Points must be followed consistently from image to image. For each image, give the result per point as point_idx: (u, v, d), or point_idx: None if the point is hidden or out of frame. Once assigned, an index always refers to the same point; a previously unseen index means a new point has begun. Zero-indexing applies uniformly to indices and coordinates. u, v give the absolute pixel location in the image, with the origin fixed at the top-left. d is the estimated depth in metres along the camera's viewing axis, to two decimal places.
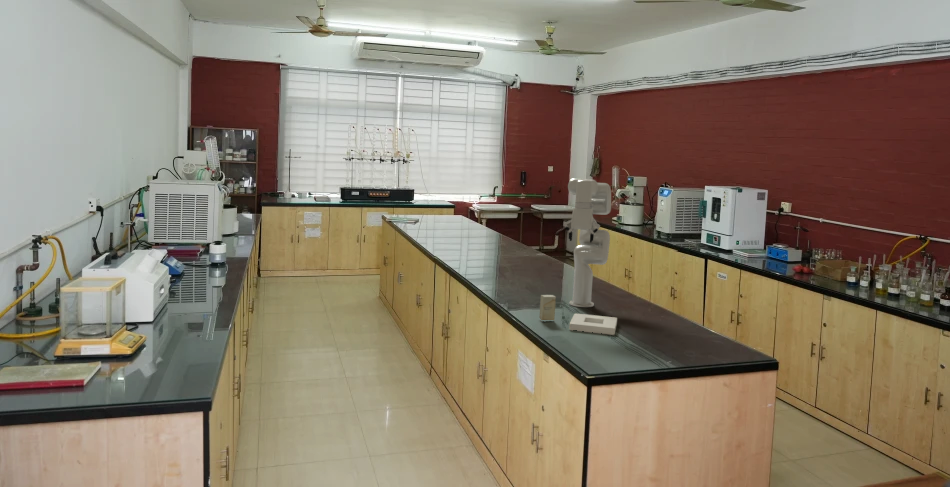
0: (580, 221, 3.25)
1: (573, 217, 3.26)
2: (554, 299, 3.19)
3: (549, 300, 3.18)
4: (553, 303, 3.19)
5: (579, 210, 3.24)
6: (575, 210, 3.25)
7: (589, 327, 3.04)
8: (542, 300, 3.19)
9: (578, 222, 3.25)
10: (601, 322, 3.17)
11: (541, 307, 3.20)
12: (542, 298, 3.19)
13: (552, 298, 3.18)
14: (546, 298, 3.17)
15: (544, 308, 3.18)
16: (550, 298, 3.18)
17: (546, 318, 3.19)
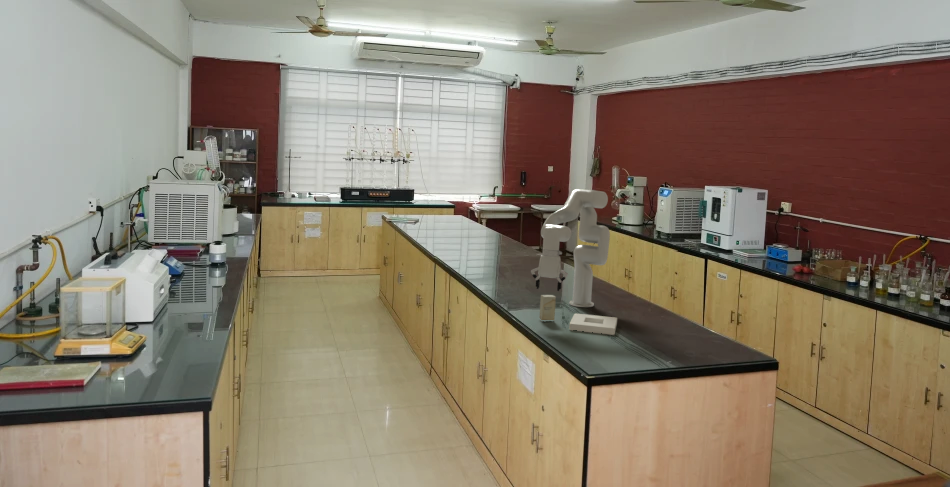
0: (547, 269, 3.15)
1: (540, 265, 3.16)
2: (554, 299, 3.19)
3: (549, 300, 3.18)
4: (553, 303, 3.19)
5: (546, 258, 3.15)
6: (542, 257, 3.15)
7: (589, 327, 3.04)
8: (542, 300, 3.19)
9: (545, 269, 3.16)
10: (601, 322, 3.17)
11: (541, 307, 3.20)
12: (542, 298, 3.19)
13: (552, 298, 3.18)
14: (546, 298, 3.17)
15: (544, 308, 3.18)
16: (550, 298, 3.18)
17: (546, 318, 3.19)
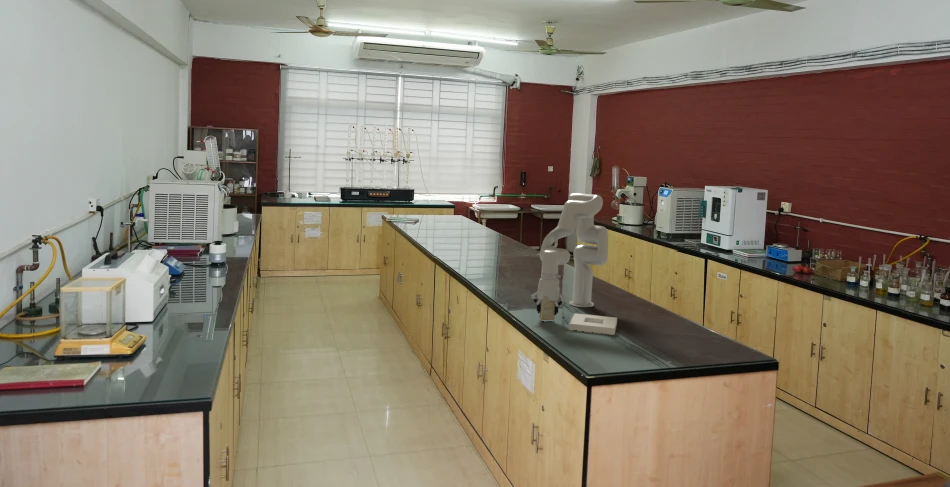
0: (546, 293, 3.17)
1: (539, 288, 3.18)
2: None
3: None
4: (553, 303, 3.19)
5: (545, 281, 3.17)
6: (541, 281, 3.17)
7: (589, 327, 3.04)
8: (542, 300, 3.19)
9: (544, 293, 3.17)
10: (601, 322, 3.17)
11: (541, 307, 3.20)
12: None
13: None
14: (546, 298, 3.17)
15: (544, 308, 3.18)
16: None
17: (546, 318, 3.19)
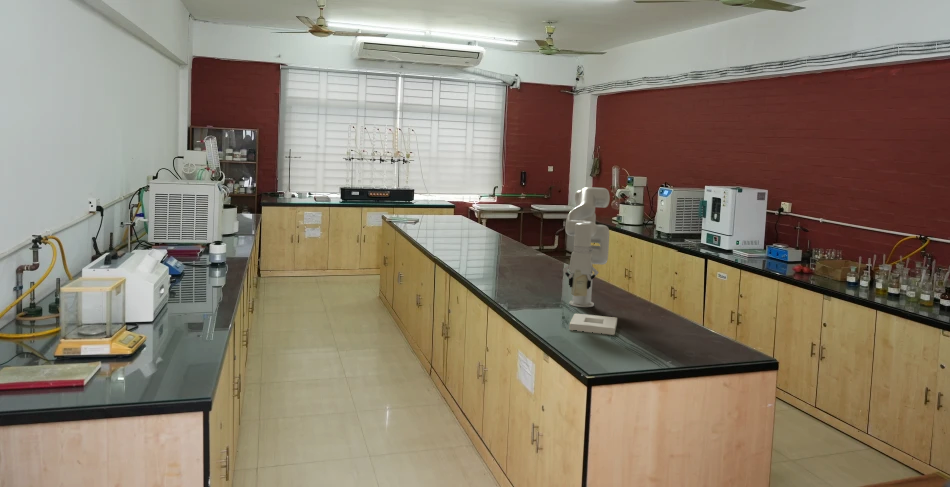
0: (579, 266, 3.11)
1: (571, 261, 3.11)
2: None
3: (581, 274, 3.11)
4: (586, 277, 3.12)
5: (578, 254, 3.10)
6: (573, 254, 3.11)
7: (589, 327, 3.04)
8: (574, 274, 3.12)
9: (576, 266, 3.11)
10: (601, 322, 3.17)
11: (573, 281, 3.13)
12: None
13: None
14: (578, 272, 3.10)
15: (576, 282, 3.11)
16: None
17: (578, 292, 3.12)
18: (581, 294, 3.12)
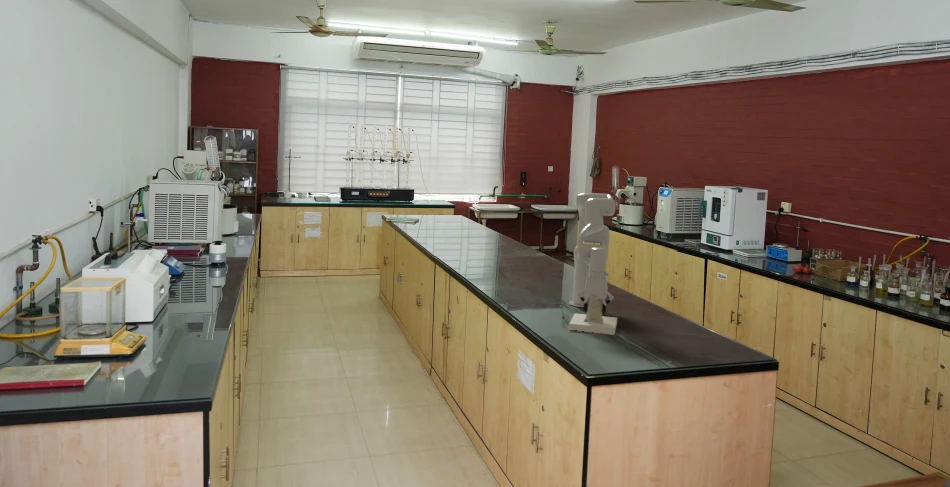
0: (594, 291, 3.10)
1: (587, 286, 3.10)
2: None
3: None
4: (601, 302, 3.11)
5: (593, 279, 3.09)
6: (589, 279, 3.10)
7: (589, 327, 3.04)
8: (590, 298, 3.11)
9: (592, 291, 3.10)
10: (601, 322, 3.17)
11: (588, 306, 3.12)
12: (590, 296, 3.11)
13: None
14: (594, 296, 3.09)
15: (592, 307, 3.10)
16: None
17: (594, 317, 3.11)
18: (596, 319, 3.11)
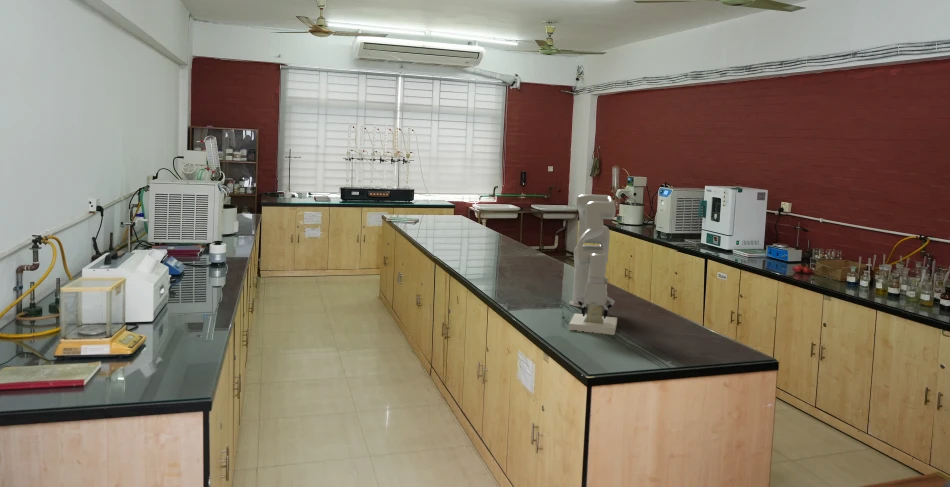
0: (594, 297, 3.10)
1: (586, 292, 3.11)
2: None
3: (597, 306, 3.11)
4: (601, 309, 3.11)
5: (593, 285, 3.09)
6: (588, 285, 3.10)
7: (589, 327, 3.04)
8: (589, 306, 3.11)
9: (591, 297, 3.10)
10: None
11: (588, 313, 3.12)
12: None
13: None
14: (594, 304, 3.10)
15: (591, 314, 3.11)
16: None
17: None
18: None
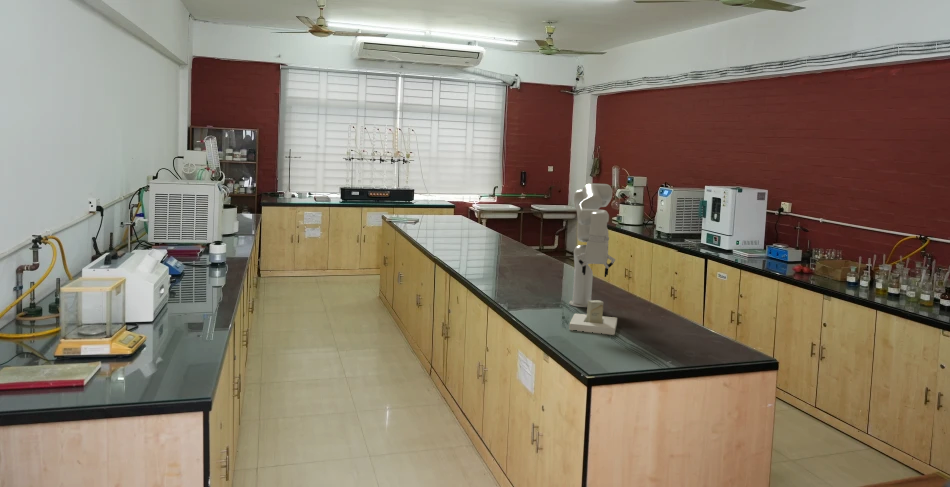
0: (594, 255, 3.10)
1: (587, 251, 3.11)
2: (602, 305, 3.11)
3: (597, 306, 3.11)
4: (601, 309, 3.11)
5: (593, 243, 3.09)
6: (589, 243, 3.10)
7: (589, 327, 3.04)
8: (589, 306, 3.11)
9: (592, 255, 3.10)
10: None
11: (588, 313, 3.12)
12: (589, 304, 3.11)
13: (600, 304, 3.11)
14: (594, 304, 3.10)
15: (591, 314, 3.11)
16: (598, 304, 3.11)
17: None
18: None
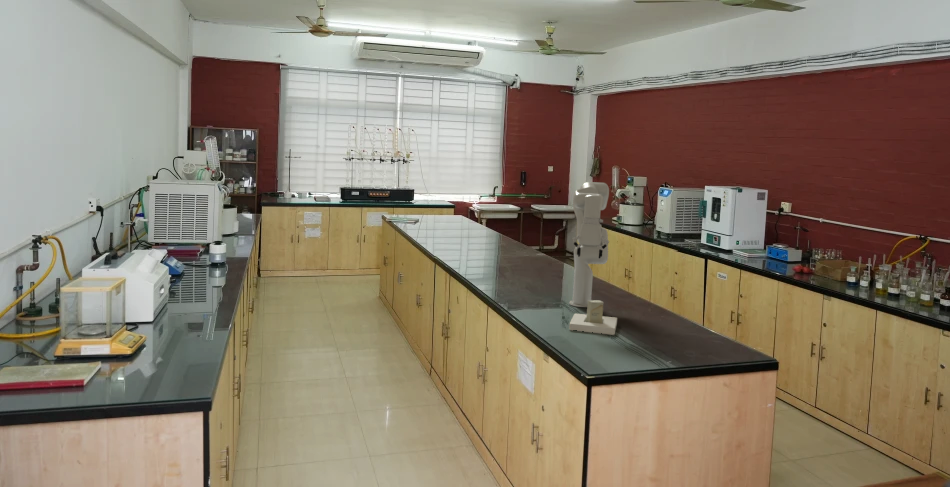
0: (589, 237, 3.19)
1: (581, 233, 3.20)
2: (602, 305, 3.11)
3: (597, 306, 3.11)
4: (601, 309, 3.11)
5: (588, 225, 3.18)
6: (584, 225, 3.19)
7: (589, 327, 3.04)
8: (589, 306, 3.11)
9: (586, 237, 3.19)
10: None
11: (588, 313, 3.12)
12: (589, 303, 3.11)
13: (600, 304, 3.11)
14: (594, 304, 3.10)
15: (591, 314, 3.11)
16: (598, 304, 3.11)
17: None
18: None
